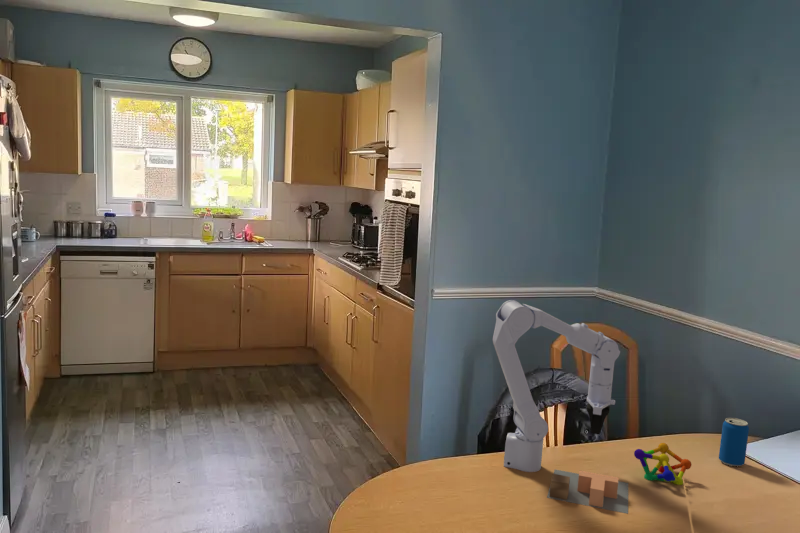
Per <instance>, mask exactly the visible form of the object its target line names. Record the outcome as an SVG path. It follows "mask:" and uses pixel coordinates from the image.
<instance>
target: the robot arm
mask: <svg viewBox="0 0 800 533" xmlns="http://www.w3.org/2000/svg"><path fill="white" fill-rule="evenodd" d="M495 319H496V320H495V324H494V331H493V336H492V344H493V347H494V350H495V352H496V356H497V358H498V362H499V364H500V367H501V370H502V373H503V375H504V378H505V382H506V384H507V387H508V390H509V393H510V396H511V398H512V402H513V404H512V408H513V422H514V425H515V426H516V429H515V432H507V435H506V437H505V438H506V440H505V444H504V454H503V455H504V456H503V467H505V468H509V469H510V468H511V469H515V470H519V471H522V472H526V473H535V472H538V471H540V470H541V469H542V458H543V448H544V438H546V436H547V434H548V431H549V425H548V423H547V421H546V420H545V419H544V418H543V417H542V415H541V413H540V411H539V408H538V407H537V405H536V403H535V401H534V398H533V396H532V393H531V389H530V387H529V385H528V384H529V383H528V381H527V377H526V375H525V371H524V369H523V366H522V363H521V359H520V358H519V357H520V356H519V355H518V352H517V348H516V343H517V342H518V340H519V339H520V338H521V337H522V336H523V335H524V334H525V333H527V331H529V330H530V328H532V329H536V328H539V327H544V328H545V329H548V330H550V331H552V332H555V333H557V334H560V335H561V336H564V337H565V340H566V342H567V343H568V344H569V345H571V346H573V347H574V348H577V349H580V350H581V351H584V352H586V353H587V354H591V361H590V370H589V380H588V381H589V382H588V388H587V389H588V390H587V392H588V393H587V397H586V402H587V404H586V411H587V415H588V416H589V422H590V423H589V424H590V432H591V434H593V435H594V434H595V435H600V434H601V432H602V430H603V426H604V422H605V420H606V418H607V417H608V415H609V413H610V408H611V405H613V406H614V405H615V404H616V400H615V399H612V389H613V381H614V380H613V379H614V369H615V362H616V360H617V359H618V358H619V356H620V354H621V350H620V349H619V345H618V343H617V342H616V341H615V340H613V339H612V338H610V337H608V336H606V335H604V332H601V331H598V332H597V331H596V330H593V329H592V328H589V325H588V324H586V323H584V322H581V323H577V322H575V323H573V324H569V323H567V322H565V321H563V320H561V319H559V318H557V317H555V316H553V315H551V314H550V313H547V312H545V311H543V310H542V309H539V308H537V307H534V306H531V305H529V304H526V303H522V304H521V303H520V302H519V301H517V300H513V299H510V300H506V301H504V302H503V303H502V304H501V305H500V307H499V309H498V310H497V311H496V313H495Z"/></svg>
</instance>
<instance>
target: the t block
mask: <svg viewBox="0 0 800 533" xmlns="http://www.w3.org/2000/svg"><path fill="white" fill-rule="evenodd" d="M578 474H579V478H578V489H577V491H579V492H584V493H589V494H590V497H589V505H593V506H598V507H602V506H603V496H605V497H610V498H615V499H617V490H618V481H619V477H617V476H611V475H606V474H601V473H595V472H590V471H584V470H579V472H578Z"/></svg>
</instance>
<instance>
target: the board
mask: <svg viewBox="0 0 800 533" xmlns="http://www.w3.org/2000/svg"><path fill="white" fill-rule="evenodd" d="M553 474H557V475H563V476H568V477H570V482H569V492H568V497H567V500H564V499H559V498H554V497H549V496H550V487H549V489H548V492H547V497H546V498H547V499H551V500H556V501H561V502H567V503H570V504H571V503H573V504H576V505H583V506H587V507H592V508H598V509H602V510H607V511H612V512H618V513H621V514H622V513H623V514H627V515H628V514H629V482H625V481H620V480H618V490H617V499H615V498H610V497H605V496H603V506H602V507H598V506H593V505H589V497H590V494H589V493H584V492H579V491H577V489H578V478H579V473H576V472H572V471H566V470H561V469H554V471H553Z"/></svg>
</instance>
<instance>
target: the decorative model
mask: <svg viewBox="0 0 800 533" xmlns="http://www.w3.org/2000/svg"><path fill="white" fill-rule="evenodd" d="M659 452H660V453H661V454H659V455H657V454H656V453H659ZM666 453H667V454H668V455H669V456H671V457H672V458H673V459H675V460H676V461H677V462H679V463H678V464H674V465H671V464H670V463H669V462H670V457H669V456H668V455H667V454H666ZM633 455H634V457H635V458H636V459H637V460H639V462H640V464H641V466H642V468H643V471H644V476H643V478H644V479H645V480H647V481H653V482H654V481H659V482H666V483H667V482H668V483H671V484H672V483H673V484H674V485H678V486H682V485H684V480H683V477H684V474H685V472H686V470H689V469H691V467H692V462H691V460H690V459H688V458H683V459H682V457H680V456H679V455H677V454H676V453H674V452H673V451H672V450H670V449H669V445H668V444H667V443H665V442H661V443H659V444H658V447H655V448H653V449H651V450H648V451H646V450H643V449H640V448H637V449H635V450H634V451H633ZM647 459H650V460H655V461H657V463H656V465H655V466H654V467H653V469H652V470H650V468H649V465H648V461H647ZM678 469H680V471H679V473H678V475H677V474H676V473H675V470H678ZM658 472H659V473H658ZM657 473H658V474H657Z"/></svg>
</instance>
